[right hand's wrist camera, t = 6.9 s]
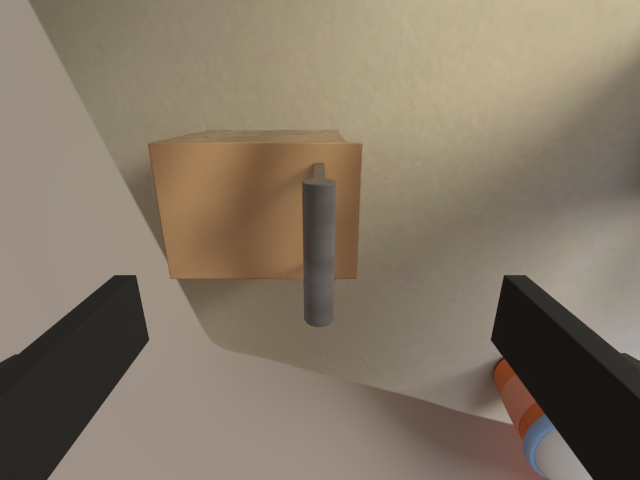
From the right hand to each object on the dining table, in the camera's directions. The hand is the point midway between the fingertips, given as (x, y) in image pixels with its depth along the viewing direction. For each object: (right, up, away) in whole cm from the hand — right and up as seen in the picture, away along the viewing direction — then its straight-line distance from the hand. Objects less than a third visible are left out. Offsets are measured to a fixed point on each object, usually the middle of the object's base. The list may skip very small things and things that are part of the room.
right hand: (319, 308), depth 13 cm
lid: (-4, +5, +12) cm, 14 cm away
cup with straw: (+25, -14, +31) cm, 42 cm away
